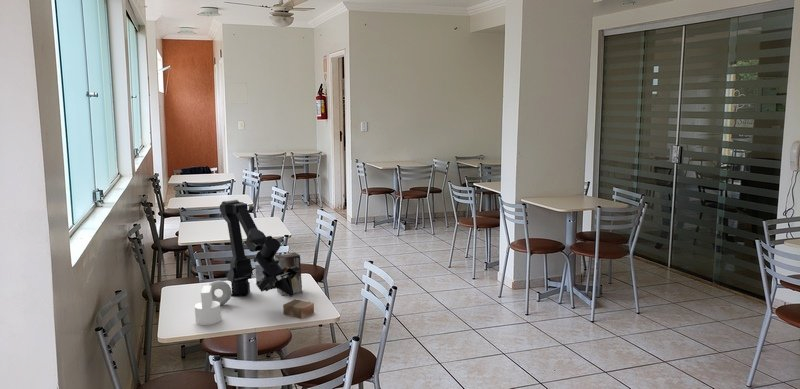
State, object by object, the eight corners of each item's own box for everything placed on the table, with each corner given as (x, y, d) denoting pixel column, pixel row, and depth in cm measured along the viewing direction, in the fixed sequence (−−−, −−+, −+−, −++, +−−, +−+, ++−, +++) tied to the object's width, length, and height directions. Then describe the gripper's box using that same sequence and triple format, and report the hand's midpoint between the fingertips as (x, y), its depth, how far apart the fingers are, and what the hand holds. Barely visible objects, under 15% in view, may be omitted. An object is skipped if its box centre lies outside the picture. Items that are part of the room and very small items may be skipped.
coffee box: (297, 288, 265) (295, 251, 262) (302, 292, 259) (301, 255, 257) (276, 291, 261) (274, 254, 258) (281, 295, 255) (279, 258, 253)
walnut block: (283, 304, 232) (302, 308, 228) (294, 299, 239) (313, 302, 234) (283, 314, 233) (302, 318, 229) (295, 309, 239) (314, 312, 235)
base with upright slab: (220, 323, 225) (218, 291, 223) (194, 325, 223) (192, 293, 221) (221, 315, 233) (220, 284, 231) (196, 317, 231) (194, 286, 229)
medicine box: (265, 284, 272) (264, 265, 270) (255, 283, 272) (254, 264, 271) (272, 278, 279) (271, 260, 278) (263, 278, 280) (262, 259, 279)
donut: (232, 302, 247) (231, 278, 246) (232, 305, 244) (230, 281, 243) (206, 304, 246) (205, 280, 244) (205, 307, 242) (204, 282, 241)
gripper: (273, 270, 249) (296, 300, 246) (241, 282, 233) (265, 315, 230) (288, 253, 244) (311, 284, 241) (256, 265, 228) (280, 298, 225)
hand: (292, 295), depth 234 cm, fingers closed
